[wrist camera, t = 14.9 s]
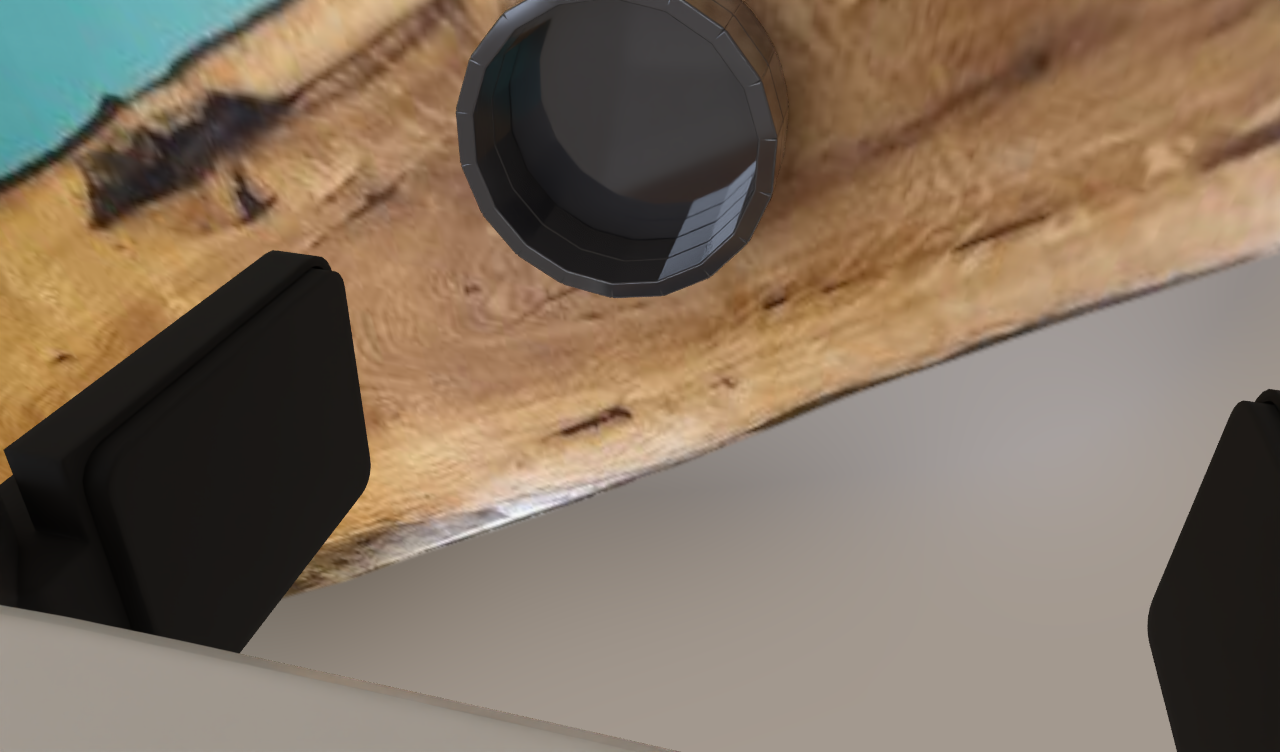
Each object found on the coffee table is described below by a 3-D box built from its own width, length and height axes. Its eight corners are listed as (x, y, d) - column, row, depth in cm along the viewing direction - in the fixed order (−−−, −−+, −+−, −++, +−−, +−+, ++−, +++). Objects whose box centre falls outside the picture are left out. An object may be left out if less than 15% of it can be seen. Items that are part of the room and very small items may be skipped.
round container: (803, -39, 30) (791, -13, 27) (774, 264, 36) (761, 316, 33) (489, -57, 32) (441, -34, 29) (507, 234, 38) (470, 281, 34)
